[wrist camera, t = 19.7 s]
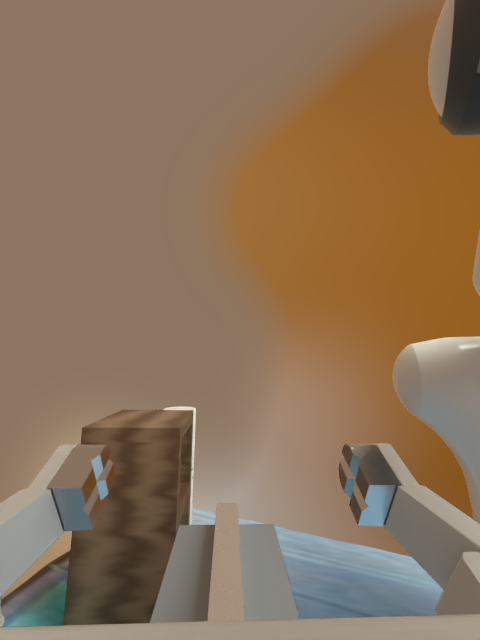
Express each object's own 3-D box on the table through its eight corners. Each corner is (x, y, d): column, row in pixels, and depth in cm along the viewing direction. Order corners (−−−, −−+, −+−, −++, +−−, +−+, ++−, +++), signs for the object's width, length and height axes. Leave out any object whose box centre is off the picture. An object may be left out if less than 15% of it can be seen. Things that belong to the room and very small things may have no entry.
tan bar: (236, 525, 35) (237, 502, 35) (248, 740, 15) (248, 683, 15) (216, 525, 34) (216, 503, 35) (200, 742, 15) (202, 685, 15)
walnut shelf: (188, 555, 50) (193, 410, 54) (171, 636, 36) (180, 427, 40) (111, 557, 50) (122, 409, 54) (61, 639, 35) (82, 427, 39)
